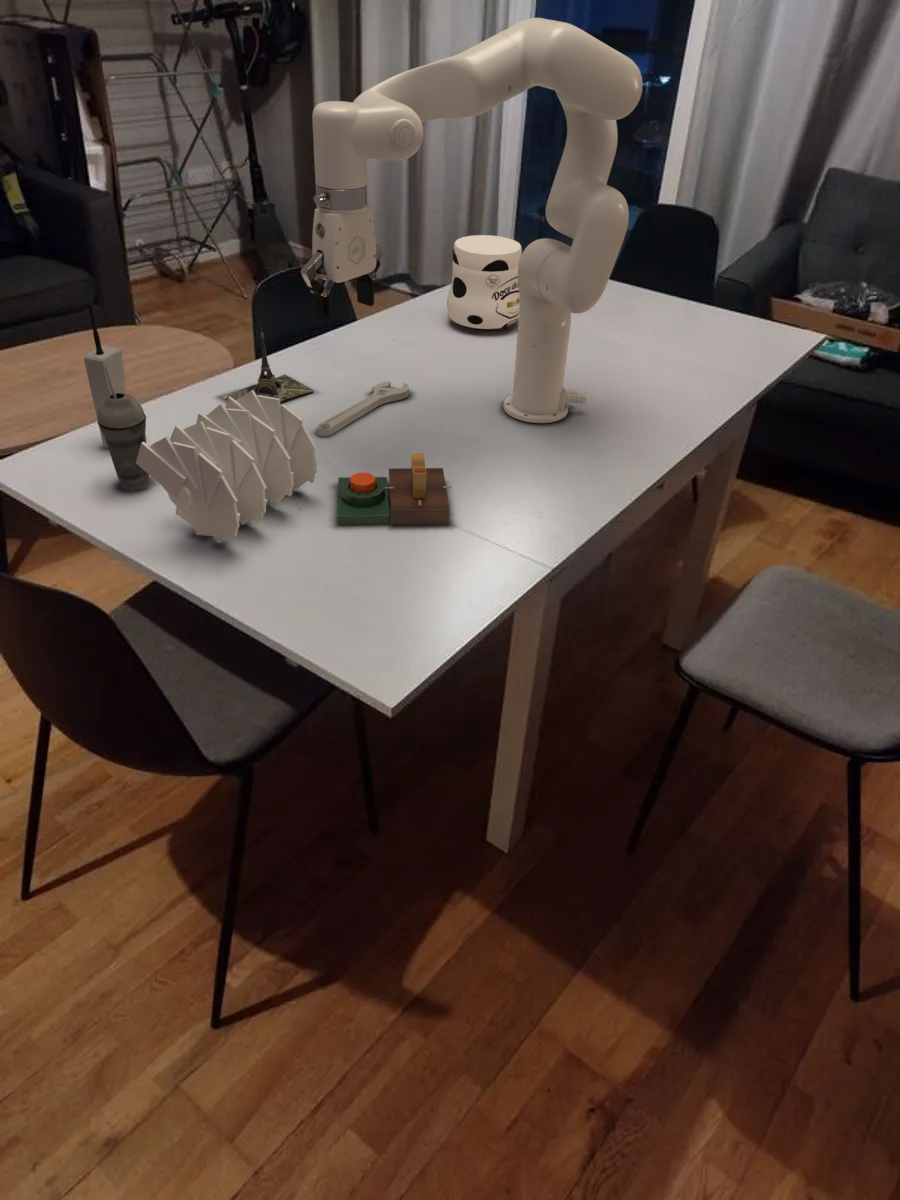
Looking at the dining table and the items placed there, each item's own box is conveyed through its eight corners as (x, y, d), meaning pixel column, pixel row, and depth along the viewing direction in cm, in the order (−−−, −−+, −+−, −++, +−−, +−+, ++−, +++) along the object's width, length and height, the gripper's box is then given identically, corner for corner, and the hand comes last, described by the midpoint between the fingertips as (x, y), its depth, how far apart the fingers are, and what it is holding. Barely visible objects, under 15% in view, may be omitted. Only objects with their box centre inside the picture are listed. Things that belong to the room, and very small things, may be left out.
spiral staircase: (311, 507, 148) (210, 575, 130) (233, 441, 150) (122, 499, 131) (349, 428, 136) (244, 490, 118) (264, 357, 137) (147, 408, 119)
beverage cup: (133, 500, 140) (108, 381, 128) (102, 486, 143) (74, 369, 131) (167, 481, 145) (147, 365, 133) (136, 468, 148) (113, 354, 136)
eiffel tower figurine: (251, 414, 166) (244, 346, 158) (221, 397, 171) (212, 329, 163) (314, 392, 174) (310, 326, 166) (284, 376, 180) (278, 311, 172)
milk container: (521, 339, 201) (528, 258, 190) (445, 335, 201) (448, 254, 190) (517, 312, 215) (524, 235, 204) (446, 309, 215) (449, 232, 204)
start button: (350, 481, 141) (350, 472, 140) (375, 481, 142) (375, 472, 141) (350, 494, 138) (349, 485, 137) (375, 494, 139) (375, 484, 138)
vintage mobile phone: (139, 439, 156) (111, 298, 141) (122, 451, 153) (91, 308, 137) (121, 435, 157) (91, 295, 142) (103, 447, 154) (71, 305, 138)
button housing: (338, 486, 146) (338, 467, 144) (387, 485, 147) (386, 467, 145) (337, 525, 137) (336, 506, 135) (389, 524, 138) (389, 505, 135)
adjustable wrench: (325, 439, 160) (325, 430, 158) (300, 428, 163) (299, 419, 161) (414, 394, 175) (414, 386, 174) (389, 385, 178) (389, 377, 177)
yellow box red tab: (410, 477, 143) (411, 451, 140) (423, 477, 144) (423, 451, 141) (413, 498, 138) (413, 471, 135) (425, 498, 138) (426, 471, 136)
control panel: (383, 484, 147) (383, 467, 145) (447, 483, 148) (448, 466, 146) (386, 526, 137) (385, 509, 135) (454, 525, 138) (455, 508, 136)
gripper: (318, 212, 124) (324, 332, 134) (398, 192, 135) (398, 304, 145) (281, 202, 127) (289, 319, 138) (362, 183, 138) (364, 293, 149)
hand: (345, 311), depth 141 cm, fingers open, 9 cm apart
